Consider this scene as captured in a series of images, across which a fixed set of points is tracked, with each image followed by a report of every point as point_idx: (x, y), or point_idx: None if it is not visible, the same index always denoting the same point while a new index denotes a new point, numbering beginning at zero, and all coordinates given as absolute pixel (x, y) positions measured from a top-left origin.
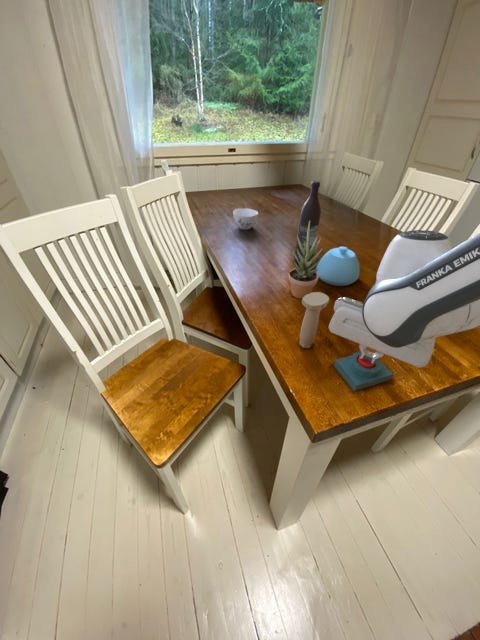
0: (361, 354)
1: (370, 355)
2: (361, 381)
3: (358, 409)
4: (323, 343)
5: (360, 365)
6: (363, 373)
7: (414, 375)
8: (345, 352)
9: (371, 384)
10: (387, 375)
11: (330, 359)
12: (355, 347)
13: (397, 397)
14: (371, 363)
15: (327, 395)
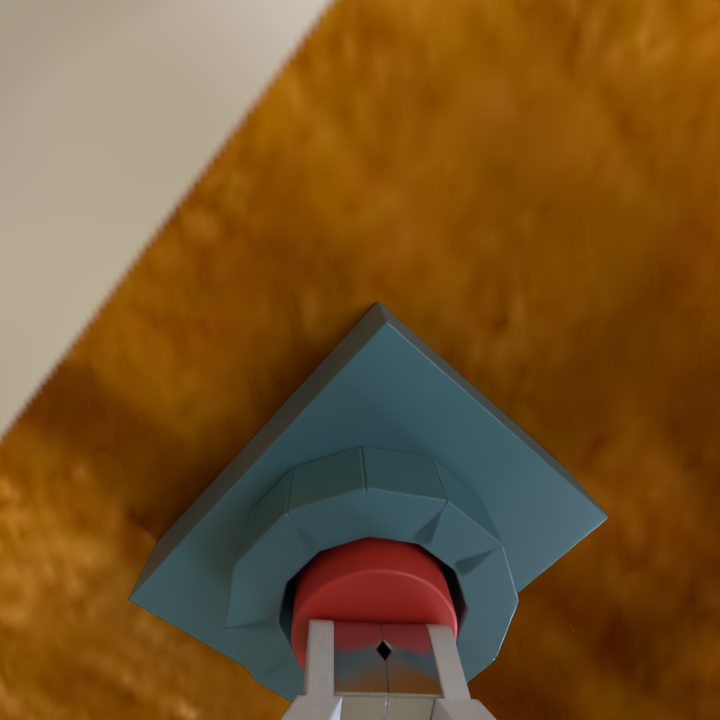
0: None
1: (369, 717)
2: (356, 388)
3: (307, 119)
4: (664, 631)
5: (413, 547)
6: (365, 470)
7: (22, 659)
8: None
9: (267, 427)
10: (165, 564)
11: None
12: None
13: (62, 415)
14: (323, 615)
15: (585, 133)
